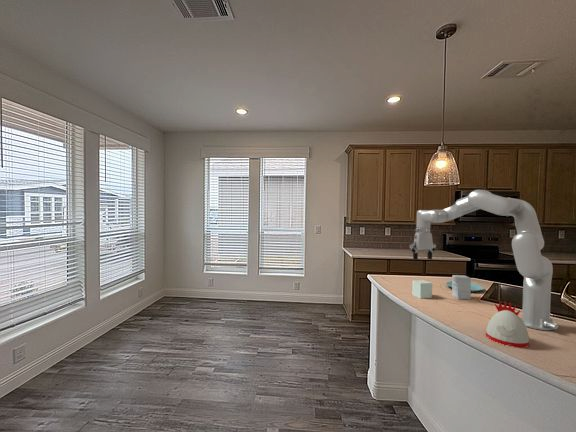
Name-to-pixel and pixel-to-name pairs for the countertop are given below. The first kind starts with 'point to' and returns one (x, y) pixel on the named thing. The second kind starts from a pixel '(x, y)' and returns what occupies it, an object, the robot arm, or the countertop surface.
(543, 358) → the countertop surface
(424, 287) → the mint green block
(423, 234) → the robot arm
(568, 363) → the countertop surface
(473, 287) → the plate
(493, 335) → the kitchen timer
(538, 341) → the countertop surface
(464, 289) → the supplement box
